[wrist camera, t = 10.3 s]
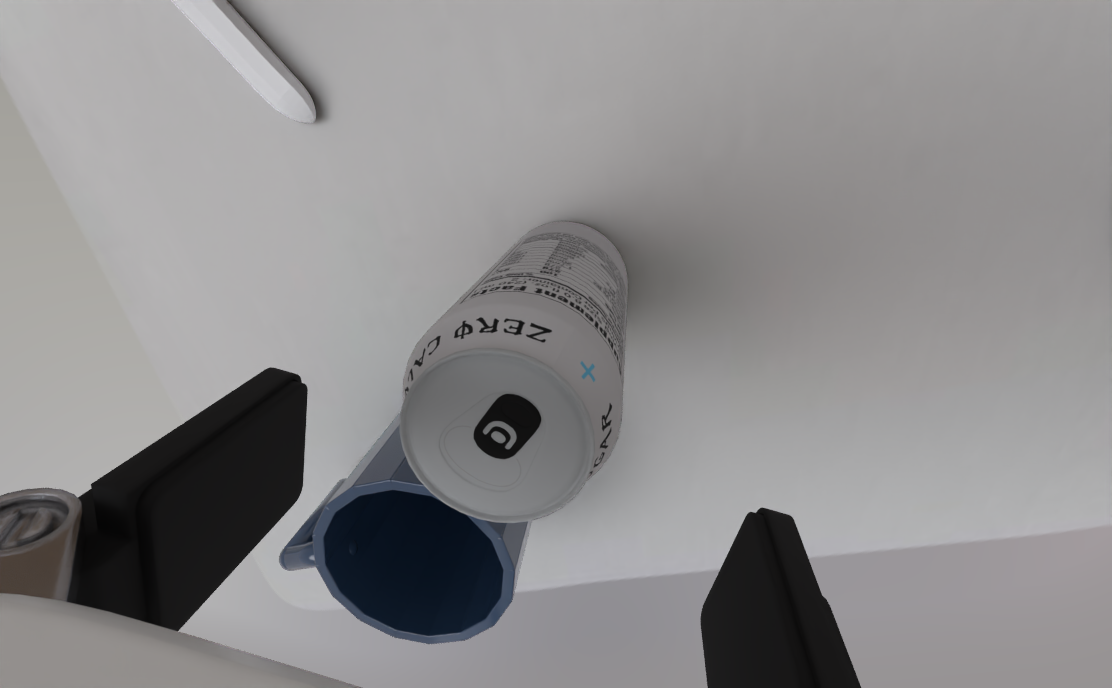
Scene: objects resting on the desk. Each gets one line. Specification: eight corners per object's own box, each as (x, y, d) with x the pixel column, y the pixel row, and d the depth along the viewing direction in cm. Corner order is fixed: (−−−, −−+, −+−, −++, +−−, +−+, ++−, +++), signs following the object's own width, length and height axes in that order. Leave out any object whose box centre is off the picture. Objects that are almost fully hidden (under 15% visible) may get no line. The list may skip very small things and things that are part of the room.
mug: (520, 361, 29) (472, 464, 20) (565, 492, 32) (540, 632, 23) (326, 405, 32) (210, 513, 23) (383, 522, 34) (299, 658, 26)
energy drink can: (484, 289, 28) (335, 454, 14) (552, 191, 25) (454, 271, 12) (579, 358, 28) (526, 579, 15) (653, 268, 26) (674, 430, 12)
